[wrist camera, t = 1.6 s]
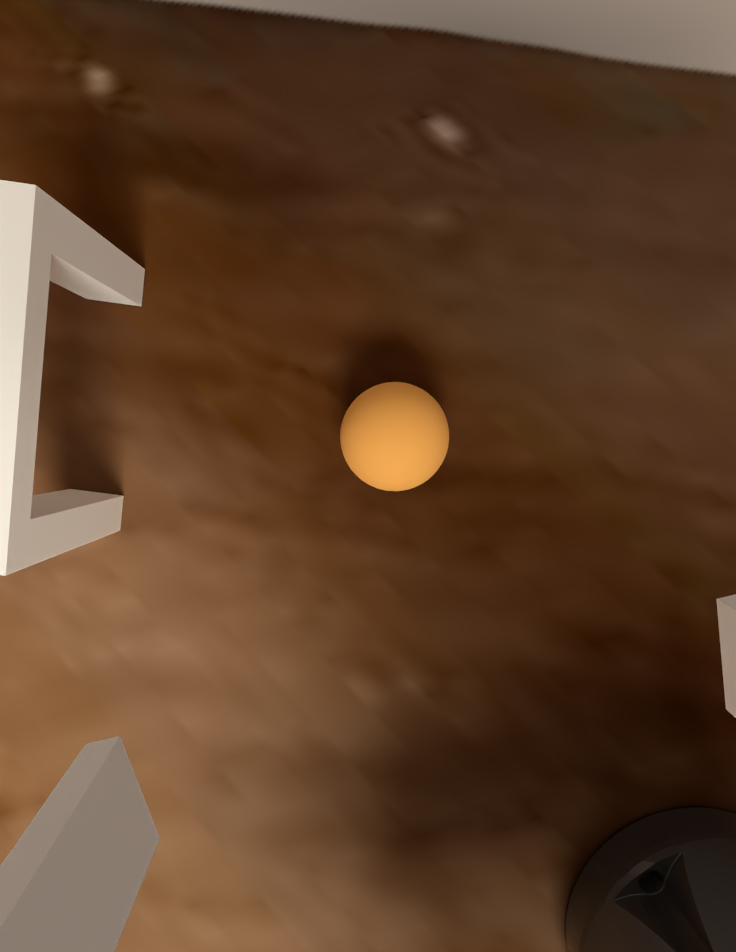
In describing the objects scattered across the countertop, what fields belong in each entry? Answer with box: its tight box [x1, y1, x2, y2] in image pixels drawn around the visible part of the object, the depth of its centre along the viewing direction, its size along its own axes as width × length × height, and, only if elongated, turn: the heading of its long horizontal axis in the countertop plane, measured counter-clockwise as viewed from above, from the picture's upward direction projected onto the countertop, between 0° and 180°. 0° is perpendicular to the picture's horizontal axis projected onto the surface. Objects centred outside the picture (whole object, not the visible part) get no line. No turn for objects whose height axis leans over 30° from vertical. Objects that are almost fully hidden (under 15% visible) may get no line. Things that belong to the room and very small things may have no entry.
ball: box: [340, 382, 449, 491], centre depth 25 cm, size 6×6×6 cm
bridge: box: [0, 180, 145, 576], centre depth 23 cm, size 3×14×9 cm, turn 172°
